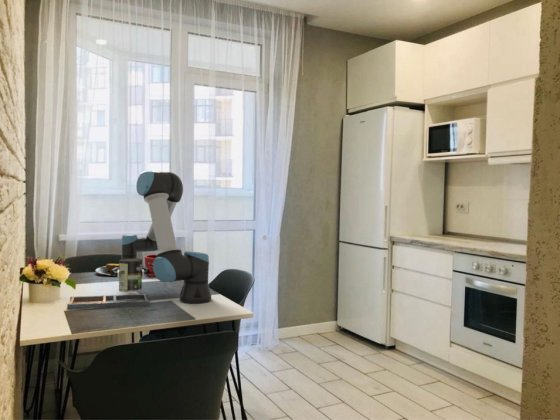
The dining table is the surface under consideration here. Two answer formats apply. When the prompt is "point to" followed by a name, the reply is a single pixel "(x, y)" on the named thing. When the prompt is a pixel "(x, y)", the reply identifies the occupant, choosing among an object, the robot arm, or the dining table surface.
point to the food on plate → (106, 269)
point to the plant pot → (150, 264)
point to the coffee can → (130, 275)
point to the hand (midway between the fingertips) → (130, 274)
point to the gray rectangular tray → (100, 302)
